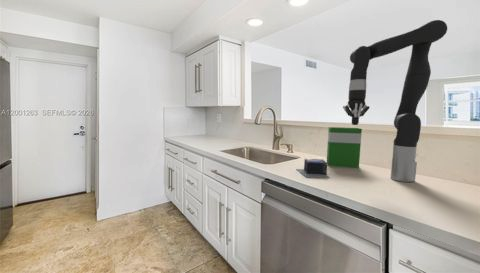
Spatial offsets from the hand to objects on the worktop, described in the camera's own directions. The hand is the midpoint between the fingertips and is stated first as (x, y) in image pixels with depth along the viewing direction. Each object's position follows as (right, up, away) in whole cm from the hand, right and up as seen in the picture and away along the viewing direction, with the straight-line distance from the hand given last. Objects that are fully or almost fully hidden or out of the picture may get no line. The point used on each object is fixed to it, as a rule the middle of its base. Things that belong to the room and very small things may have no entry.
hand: (354, 124), depth 111 cm
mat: (-19, -26, +9) cm, 33 cm away
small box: (-11, -22, +10) cm, 27 cm away
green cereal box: (+7, -24, +30) cm, 40 cm away
